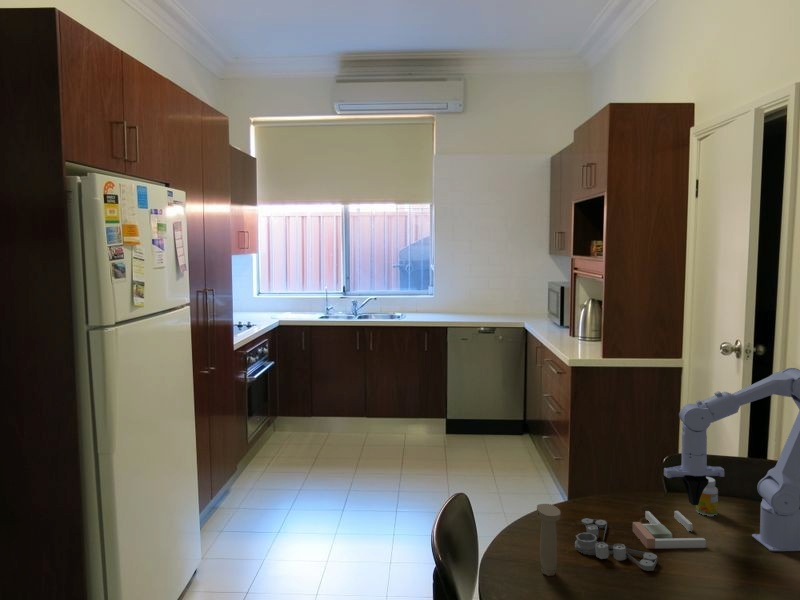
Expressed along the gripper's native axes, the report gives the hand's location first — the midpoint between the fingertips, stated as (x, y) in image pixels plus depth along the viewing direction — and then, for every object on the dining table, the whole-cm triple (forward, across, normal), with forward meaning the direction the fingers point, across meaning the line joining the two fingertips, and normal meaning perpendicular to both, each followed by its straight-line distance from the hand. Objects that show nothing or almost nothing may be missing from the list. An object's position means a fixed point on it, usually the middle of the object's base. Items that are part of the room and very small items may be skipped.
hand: (693, 503), depth 146 cm
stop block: (+9, +13, +1) cm, 16 cm away
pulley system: (+9, +25, +4) cm, 27 cm away
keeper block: (+9, +10, +1) cm, 13 cm away
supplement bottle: (+9, -11, -14) cm, 20 cm away
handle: (+9, +42, +16) cm, 45 cm away
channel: (+9, +6, -3) cm, 11 cm away
